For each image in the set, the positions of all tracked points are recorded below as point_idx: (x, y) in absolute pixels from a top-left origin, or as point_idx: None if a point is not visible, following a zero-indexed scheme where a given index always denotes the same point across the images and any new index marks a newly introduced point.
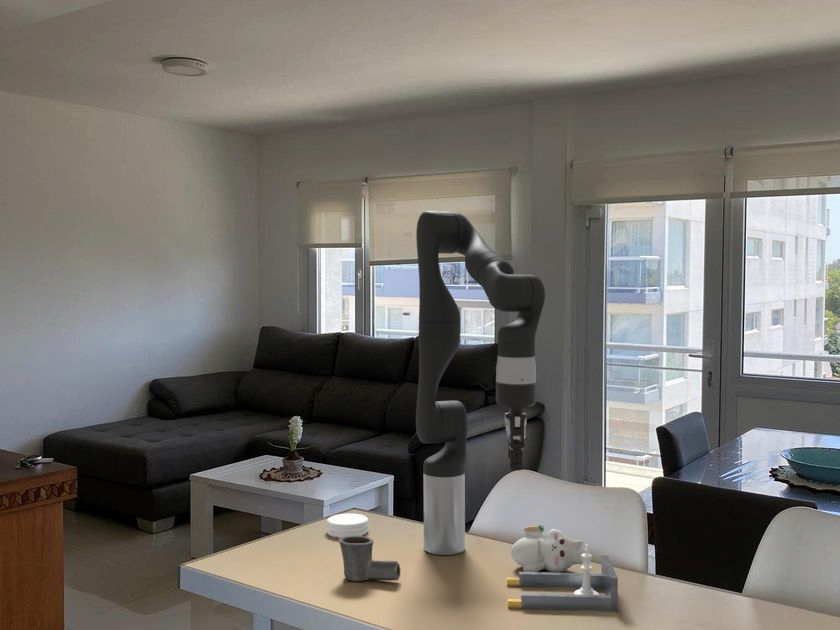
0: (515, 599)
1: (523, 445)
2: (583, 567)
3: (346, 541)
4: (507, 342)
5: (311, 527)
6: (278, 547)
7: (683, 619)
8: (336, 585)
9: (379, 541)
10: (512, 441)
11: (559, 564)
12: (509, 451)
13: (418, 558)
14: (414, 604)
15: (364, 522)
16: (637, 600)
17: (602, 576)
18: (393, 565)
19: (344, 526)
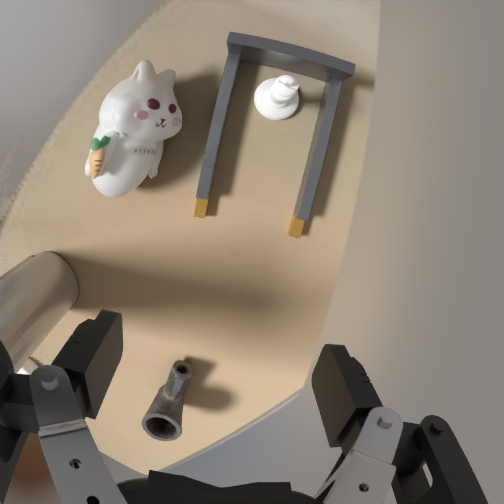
0: (294, 225)
1: (449, 429)
2: (286, 97)
3: (156, 431)
4: None
5: None
6: None
7: (370, 12)
8: (192, 409)
9: (44, 350)
10: (422, 477)
11: (180, 116)
12: (112, 373)
13: None
14: (261, 348)
15: (23, 368)
16: (298, 30)
17: (240, 54)
18: (187, 380)
19: None
